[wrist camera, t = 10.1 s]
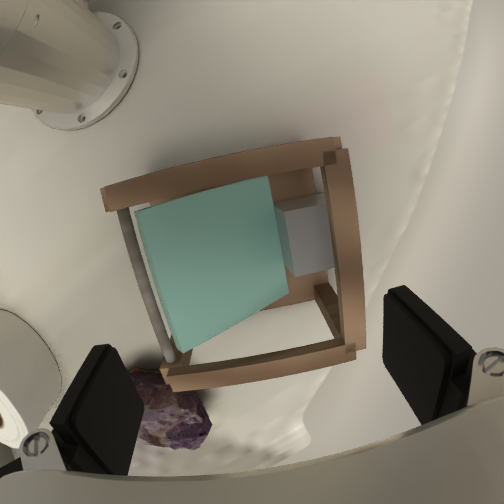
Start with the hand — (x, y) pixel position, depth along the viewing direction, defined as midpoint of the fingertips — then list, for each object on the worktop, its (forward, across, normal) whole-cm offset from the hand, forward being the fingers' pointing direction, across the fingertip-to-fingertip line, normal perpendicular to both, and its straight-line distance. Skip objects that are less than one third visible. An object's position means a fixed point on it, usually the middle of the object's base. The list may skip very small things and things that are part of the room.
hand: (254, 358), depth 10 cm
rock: (+19, +13, +16) cm, 28 cm away
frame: (+19, 0, +1) cm, 19 cm away
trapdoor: (+14, +2, +1) cm, 15 cm away
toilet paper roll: (+20, +34, +11) cm, 41 cm away
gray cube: (+16, -3, +1) cm, 16 cm away
